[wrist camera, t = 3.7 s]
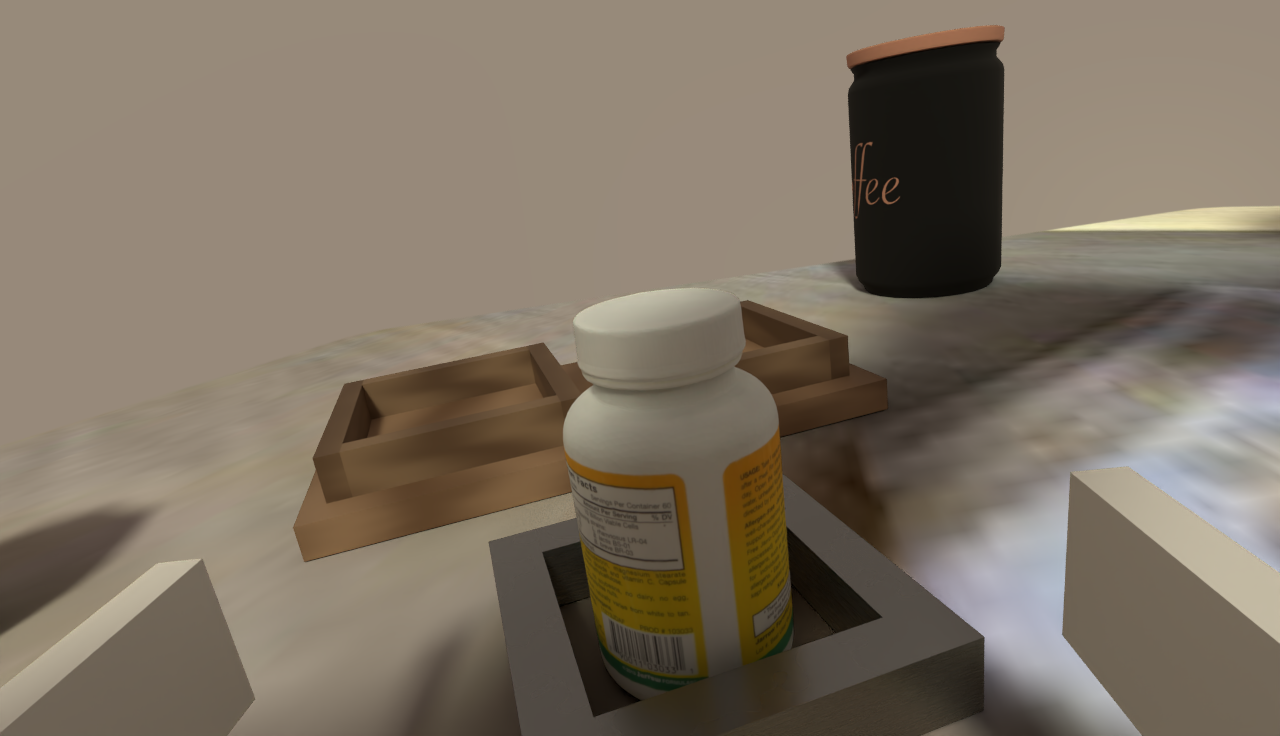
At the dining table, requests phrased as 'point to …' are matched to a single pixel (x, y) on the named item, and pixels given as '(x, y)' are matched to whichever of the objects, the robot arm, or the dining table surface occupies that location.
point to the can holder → (771, 687)
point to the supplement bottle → (677, 491)
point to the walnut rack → (520, 431)
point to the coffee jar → (928, 162)
